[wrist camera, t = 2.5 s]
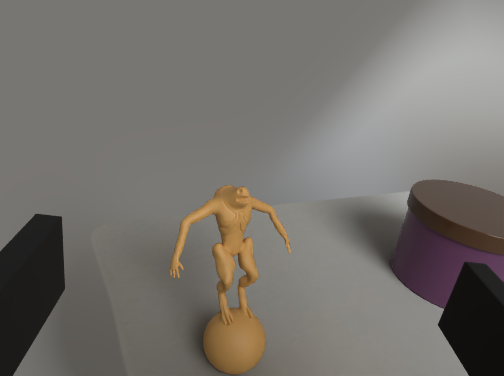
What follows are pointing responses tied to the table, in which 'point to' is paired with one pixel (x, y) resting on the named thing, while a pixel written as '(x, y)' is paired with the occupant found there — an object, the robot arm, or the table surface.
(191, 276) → the table surface
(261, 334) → the figurine
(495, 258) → the jar
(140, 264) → the table surface
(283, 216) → the table surface
